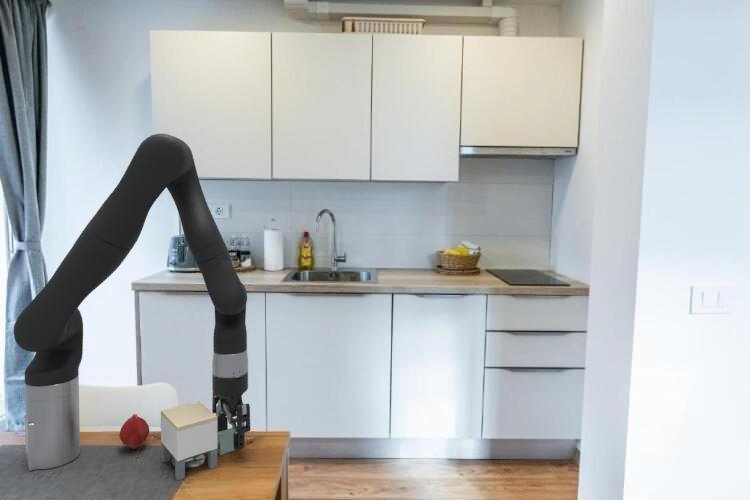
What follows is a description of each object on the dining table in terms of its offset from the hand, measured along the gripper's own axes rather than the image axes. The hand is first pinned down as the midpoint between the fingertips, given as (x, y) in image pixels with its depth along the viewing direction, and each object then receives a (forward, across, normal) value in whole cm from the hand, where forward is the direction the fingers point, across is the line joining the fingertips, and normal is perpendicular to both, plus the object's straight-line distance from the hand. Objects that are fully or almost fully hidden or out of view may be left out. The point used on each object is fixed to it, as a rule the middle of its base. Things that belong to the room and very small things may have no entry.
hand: (230, 441), depth 103 cm
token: (+2, 0, -8) cm, 8 cm away
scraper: (+2, 0, -5) cm, 5 cm away
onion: (+2, -14, -16) cm, 21 cm away
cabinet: (+2, 0, -9) cm, 9 cm away
